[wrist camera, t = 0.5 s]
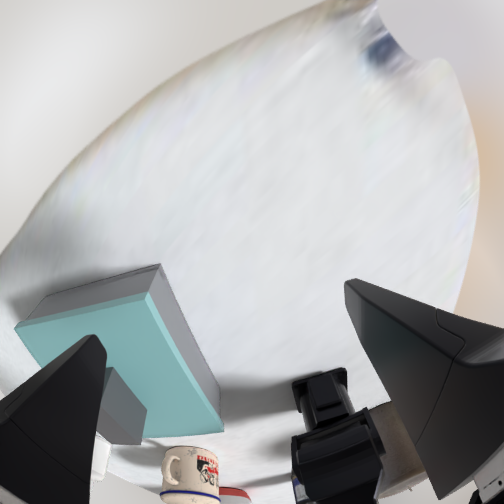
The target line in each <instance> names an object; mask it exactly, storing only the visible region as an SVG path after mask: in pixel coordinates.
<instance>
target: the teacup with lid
mask: <svg viewBox="0 0 504 504" xmlns="http://www.w3.org/2000/svg"><path fill="white" fill-rule="evenodd" d="M161 471H162V475H163V482H162V492H161V493H160V497H161V499H162V501H164V502H165V503H167V504H220V502H221V500H220V498H219V484H218V458H217V456H216V455H215V454H214V453H212V452H210V451H208V450H205V449H201V448H197V447H187V446H182V447H174V448H171V449H169V450H168V451H167V452H166V453H165V458H164V460H163V462H162V466H161Z"/></svg>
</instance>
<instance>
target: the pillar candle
mask: <svg viewBox="0 0 504 504" xmlns="http://www.w3.org/2000/svg"><path fill="white" fill-rule="evenodd" d="M369 413H370V415H371V418H372V420H373V422H374V424H375V426H376V428H377V431H378V433H379V435H380V438H381V440H382V443H383V445H384V448H385V451H386V454H387V455H385V456H383V457H380V459H381V462H382V464H383V467H384V471H385V477H384V481H383V484H382V488H381V491H380V495H379V498H378V499H381V498H385V497H389V496H392V495H395V494H398V493H401V492H403V491H405V490H407V489H409V490H410V491H412V489H411V487H413V486H415V485H416V484H419V483H420V482H422V481H424V480H425V479H427V478H428V475H427V473H426V471H425V468H424V466H423V464H422V462H421V460H420V458H419V455H418V453H417V451H416V449H415V447H414V445H413V443H412V440H411V438H410V436H409V434H408V432H407V430H406V428H405V426H404V424H403V422H402V420H401V418H400V416H399V414H398V412H397V410H396V408H395V406H394V404H393V402H392V401H391V402H388V403H385V404H382V405H380V406H378V407H376V408H373V409H372V410H370V411H369Z"/></svg>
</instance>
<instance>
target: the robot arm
mask: <svg viewBox="0 0 504 504" xmlns="http://www.w3.org/2000/svg"><path fill="white" fill-rule="evenodd" d="M344 293H345V305H346V308H347V311H348V313H349V316H350V318H351V320H352V323H353V325H354V328H355V330H356V333H357V335H358V338H359V340H360V342H361V345H362V347H363V348H364V350H365V352H366V354H367V356H368V358H369V359H370V361H371V363H372V365H373V367H374V369H375V370H376V372H377V374H378V376H379V378H380V380H381V382H382V383H383V385H384V387H385V389H386V391H387V393H388V395H389V397H390V399H391V401H392V402H393V404H394V406H395V408H396V410H397V412H398V414H399V416H400V418H401V420H402V422H403V424H404V426H405V428H406V430H407V432H408V434H409V436H410V438H411V440H412V443H413V445H414V447H415V449H416V451H417V453H418V455H419V458H420V460H421V462H422V464H423V466H424V468H425V471H426V473H427V475H428V477H429V480H430V482H431V484H432V486H433V489H434V491H435V493H436V496H437V498H438V500H441V499H443V498H445V497H447V496H448V495H449V494H452V493H453V492H455V491H457V490H458V489H460V488H461V487H463V486H465V485H466V484H468V483H469V482H471V481H472V480H474V482H475V484H476V486H477V488H478V489H477V490H476V491H474V492H473V494H472V497H471V499H470V502H469V504H504V329H503V328H499V327H496V326H492V325H489V324H485V323H481V322H478V321H474V320H471V319H467V318H464V317H461V316H458V315H455V314H452V313H449V312H446V311H444V310H441V309H438V308H437V309H436V308H435V307H433V306H430V305H428V304H425V303H422V302H419V301H417V300H414V299H411V298H409V297H406V296H403V295H401V294H398V293H395V292H392V291H390V290H387V289H384V288H382V287H379V286H376V285H373V284H371V283H368V282H365V281H362V280H360V279H357V278H354V279H351V280H347V281H345V283H344ZM106 363H107V351H106V349H105V348H104V346H103V344H102V343H101V341H100V339H99V338H98V336H97V335H95V334H89V335H85V336H84V337H83V338H81V339H80V340H79V341H77V342H76V343H75V344H73V345H72V346H71V347H69V348H68V349H67V350H65V351H64V352H63V353H61V354H60V355H59V356H58V357H56V358H55V359H54V360H52V361H51V362H50V363H48V364H47V365H46V366H45V367H43V368H42V369H41V370H39V371H38V372H37V373H36V374H34V375H33V376H32V377H30V378H29V379H28V380H27V381H26V382H24V383H23V384H22V385H20V386H19V387H18V388H16V389H15V390H14V391H13V392H11V393H10V394H9V395H7V396H6V397H5V398H3V399H2V400H0V504H89V499H90V481H91V470H92V460H93V451H94V443H95V436H96V429H97V423H98V417H99V411H100V405H101V400H102V395H103V389H104V380H105V371H106ZM292 389H293V393H294V397H295V401H296V404H297V408H298V412H299V413H302V414H303V418H304V422H305V426H306V430H307V433H304V434H301V435H298V436H297V435H296V436H293V437H292V443H291V454H292V471H291V472H292V475H293V476H296V477H297V479H298V481H299V482H300V484H301V485H303V486H304V488H305V494H306V496H307V497H309V498H310V499H311V500H312V501H313V502H316V503H317V504H379V502H378V498H379V495H380V491H381V488H382V484H383V481H384V477H385V471H384V467H383V464H382V462H381V459H380V457H383V456H385V455H387V454H386V451H385V448H384V445H383V443H382V440H381V438H380V435H379V433H378V431H377V428H376V426H375V424H374V422H373V420H372V418H371V415H370V413H369V411H368V409H367V407H365V408H363V409H362V410H360V411H358V412H356V413H355V410H354V408H353V405H352V403H351V400H350V398H349V396H348V392H347V371H346V369H345V368H341V369H338V370H335V371H332V372H328V373H325V374H322V375H318V376H315V377H312V378H308V379H304V380H301V381H297V382H294V383H292Z"/></svg>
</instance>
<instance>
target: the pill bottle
mask: <svg viewBox="0 0 504 504" xmlns="http://www.w3.org/2000/svg"><path fill="white" fill-rule="evenodd" d="M291 479H292V485H293V490H294V495H295V501H296V504H317V503H316V502H313V501H312V500H311V499H310V498H309V497H307V496H306V494H305V488H304V486H303V485H301V484H300V482H299V481H298V479H297V477H296V476H293V475H292V477H291Z"/></svg>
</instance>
